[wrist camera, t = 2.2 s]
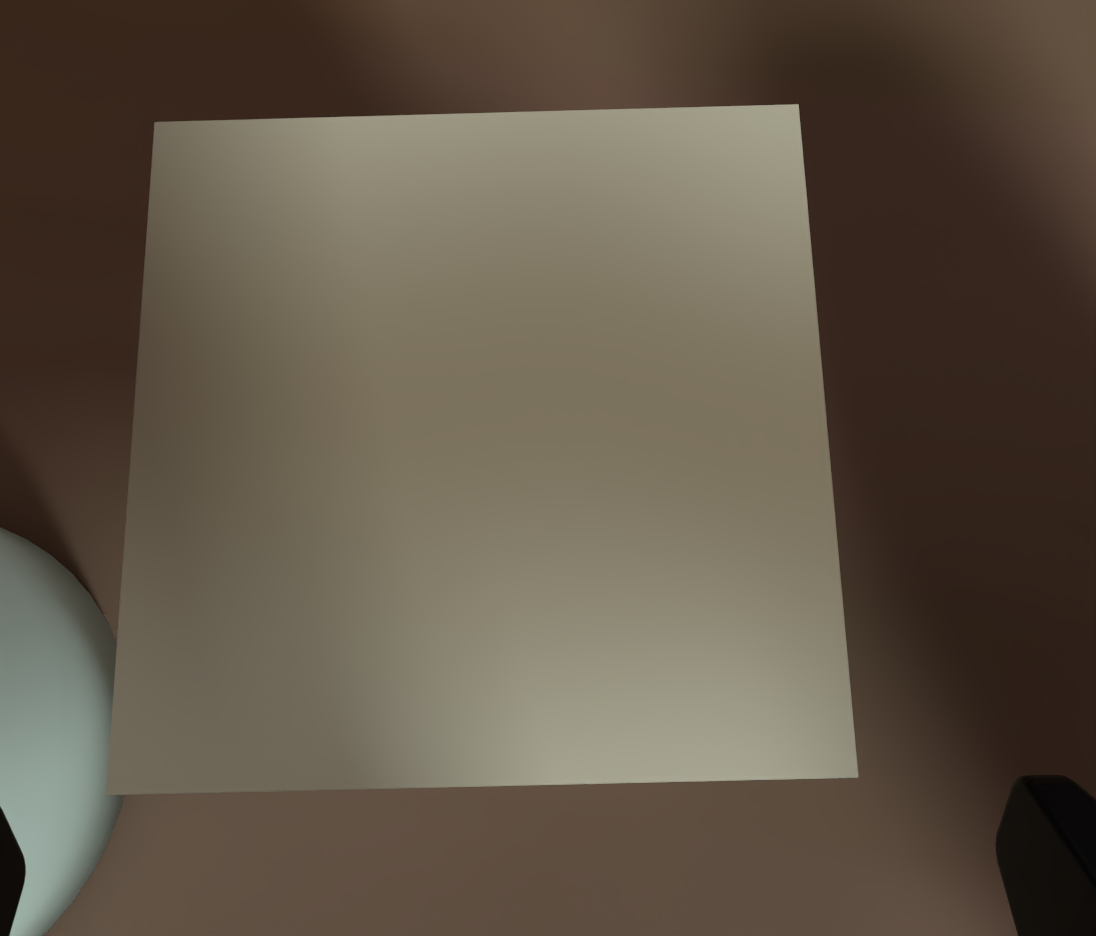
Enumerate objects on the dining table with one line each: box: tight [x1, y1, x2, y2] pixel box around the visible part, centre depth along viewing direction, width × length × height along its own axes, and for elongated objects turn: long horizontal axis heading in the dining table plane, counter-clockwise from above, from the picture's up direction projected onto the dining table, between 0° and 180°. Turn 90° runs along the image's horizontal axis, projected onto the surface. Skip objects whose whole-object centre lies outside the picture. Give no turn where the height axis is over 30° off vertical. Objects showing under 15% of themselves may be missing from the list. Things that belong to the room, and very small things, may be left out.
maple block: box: [106, 104, 858, 795], centre depth 13 cm, size 5×5×13 cm
